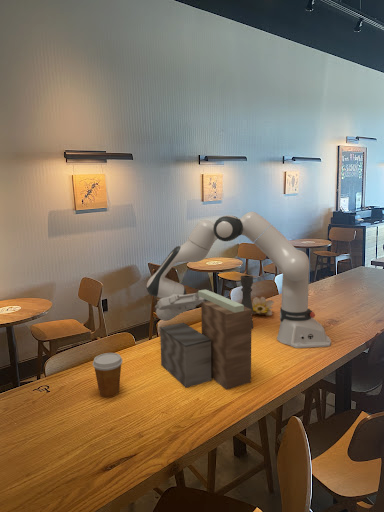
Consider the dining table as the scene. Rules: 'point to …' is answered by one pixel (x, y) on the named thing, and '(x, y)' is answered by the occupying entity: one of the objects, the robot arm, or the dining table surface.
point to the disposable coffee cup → (108, 373)
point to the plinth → (228, 343)
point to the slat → (221, 301)
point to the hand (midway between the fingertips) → (188, 295)
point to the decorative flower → (262, 306)
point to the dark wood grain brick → (186, 354)
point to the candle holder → (247, 292)
